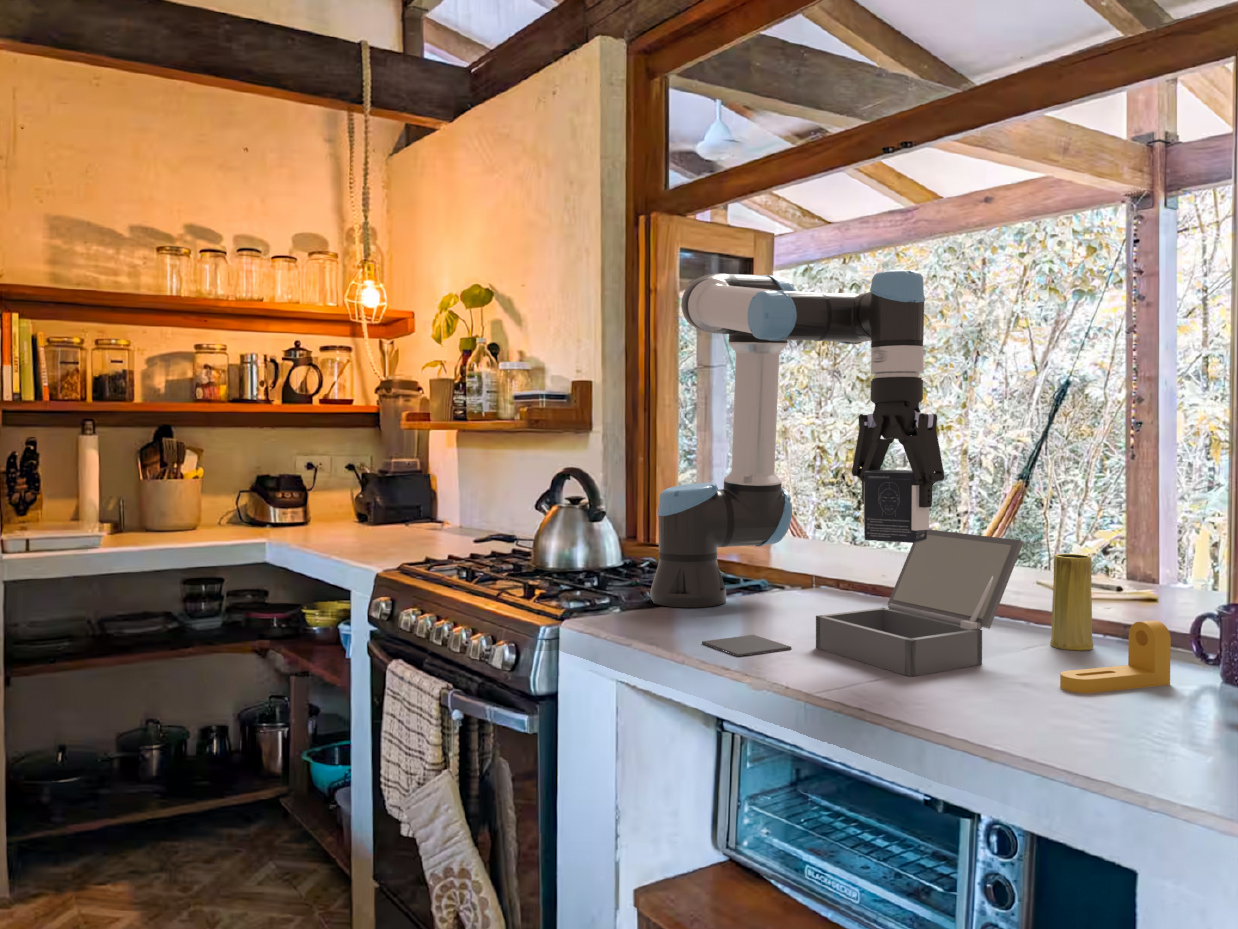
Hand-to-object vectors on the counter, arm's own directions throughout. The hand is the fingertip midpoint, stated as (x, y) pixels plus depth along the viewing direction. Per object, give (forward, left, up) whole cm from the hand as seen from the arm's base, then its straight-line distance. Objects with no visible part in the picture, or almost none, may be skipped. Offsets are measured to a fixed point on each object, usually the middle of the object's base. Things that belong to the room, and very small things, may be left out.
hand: (895, 526), depth 142 cm
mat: (-16, -16, -20) cm, 30 cm away
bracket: (+26, +13, -20) cm, 35 cm away
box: (0, 0, -2) cm, 2 cm away
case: (0, +4, -20) cm, 20 cm away
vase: (+9, +28, -20) cm, 35 cm away
